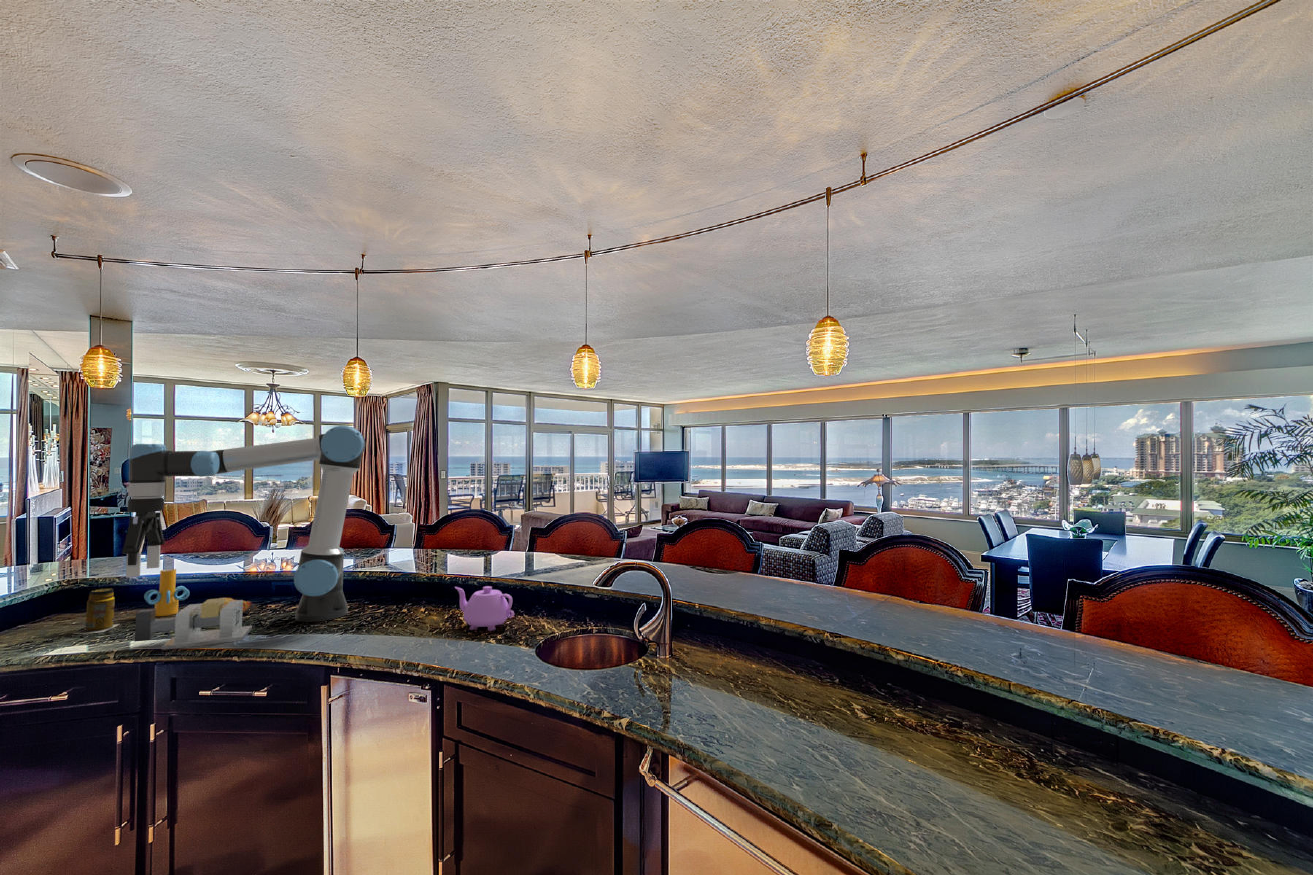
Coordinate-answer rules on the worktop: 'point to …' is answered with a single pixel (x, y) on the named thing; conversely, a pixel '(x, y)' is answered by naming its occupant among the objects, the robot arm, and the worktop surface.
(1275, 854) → the worktop surface
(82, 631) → the condiment
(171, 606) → the cylinder
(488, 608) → the teapot
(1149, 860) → the worktop surface
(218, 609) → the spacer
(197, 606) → the frame
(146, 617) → the bar
